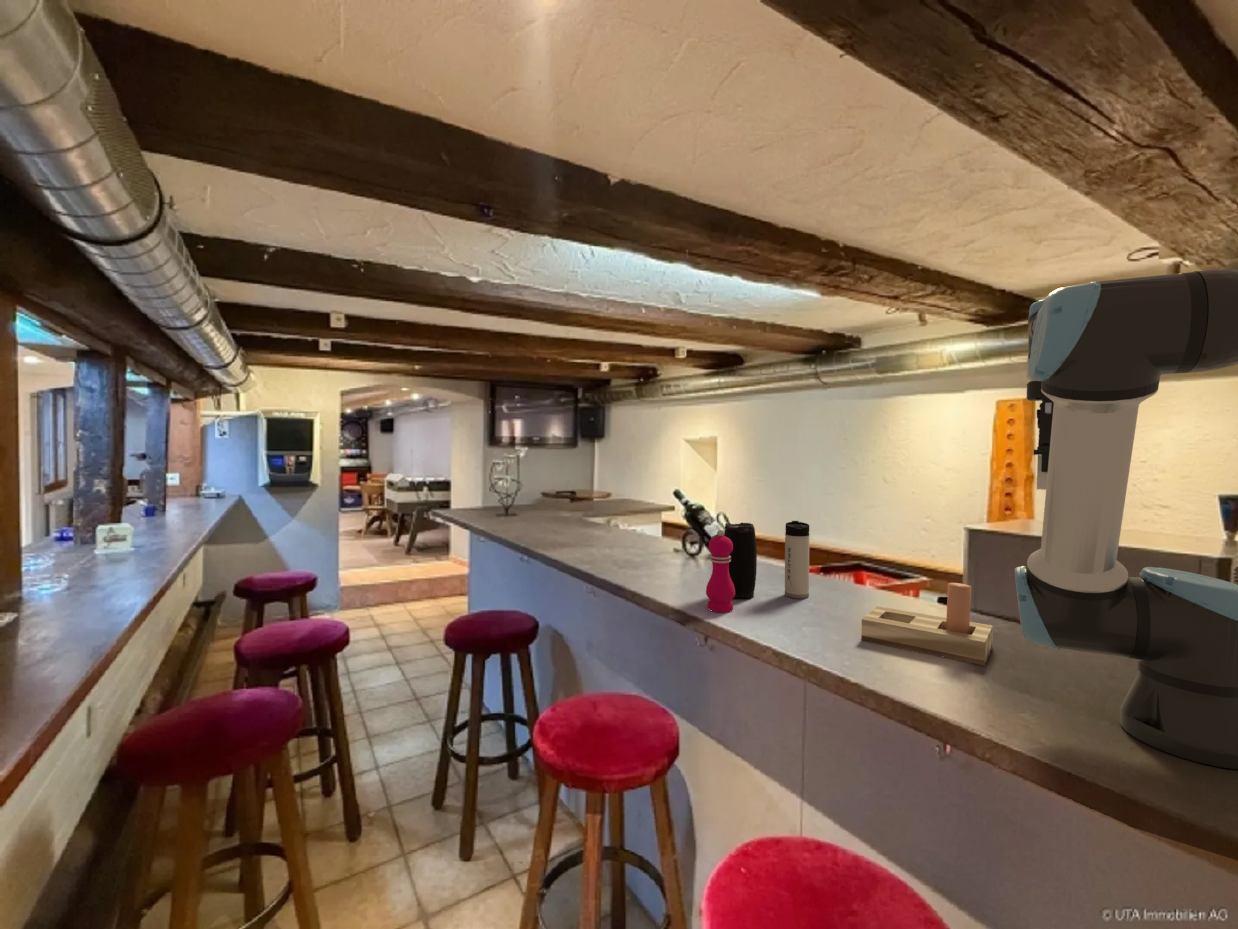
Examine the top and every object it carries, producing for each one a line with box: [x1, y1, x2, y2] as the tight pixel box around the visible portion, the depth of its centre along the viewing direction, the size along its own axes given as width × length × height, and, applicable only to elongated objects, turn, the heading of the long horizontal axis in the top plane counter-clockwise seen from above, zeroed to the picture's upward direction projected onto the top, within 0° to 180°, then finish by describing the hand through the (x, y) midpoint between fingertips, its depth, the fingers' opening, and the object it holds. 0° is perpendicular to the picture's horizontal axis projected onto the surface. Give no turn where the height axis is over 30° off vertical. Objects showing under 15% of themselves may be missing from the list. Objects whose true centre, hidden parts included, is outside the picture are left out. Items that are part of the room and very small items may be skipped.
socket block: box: [860, 605, 994, 666], centre depth 118 cm, size 12×22×4 cm, turn 51°
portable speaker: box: [724, 522, 758, 600], centre depth 154 cm, size 9×9×20 cm
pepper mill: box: [705, 529, 735, 613], centre depth 142 cm, size 7×7×20 cm
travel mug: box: [784, 520, 810, 600], centre depth 154 cm, size 6×7×20 cm
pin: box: [945, 582, 972, 634], centre depth 114 cm, size 4×4×12 cm
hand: (1047, 487), depth 113 cm, fingers open, 13 cm apart
